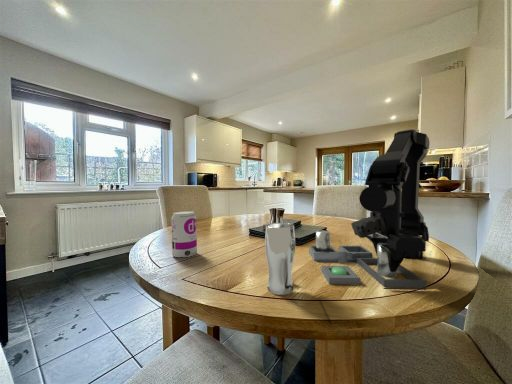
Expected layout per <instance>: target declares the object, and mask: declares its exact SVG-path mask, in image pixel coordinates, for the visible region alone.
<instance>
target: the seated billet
mask: <svg viewBox="0 0 512 384" xmlns="http://www.w3.org/2000/svg"><path fill="white" fill-rule="evenodd" d="M315 246H316V252H330V246H331V232H330V231H328V230H316V231H315Z"/></svg>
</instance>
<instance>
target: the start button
mask: <svg viewBox="0 0 512 384" xmlns="http://www.w3.org/2000/svg"><path fill="white" fill-rule="evenodd" d="M332 274H333V275H347V270H346V269H344V268H340V267H334V268H332Z"/></svg>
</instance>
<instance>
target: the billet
mask: <svg viewBox="0 0 512 384" xmlns="http://www.w3.org/2000/svg"><path fill="white" fill-rule="evenodd" d="M382 245H388V243H378V244H377V254H376V258H377V264H376V272H377V273H378V274H380V275H381V276H382V277H384V278H389V279H393V278H397V277H398V271H397V270H396V271H395V272H391V271H390V269H389V262H388V252H387V250H386V249H385V248H384V247H383V246H382Z"/></svg>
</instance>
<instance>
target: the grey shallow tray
mask: <svg viewBox="0 0 512 384" xmlns="http://www.w3.org/2000/svg"><path fill="white" fill-rule="evenodd" d="M308 254H309V255H310V256H311V258H312V261H314V262H316V263H317V264H318V263H320V264H321V263H323V264H324V263H329V264H331V263H335V264H337V263H339V264H341V263H343V264H345V263H347V264H348V263H349V264H351V263H353V264H354V263H355V264H357V258H373V252H372V251H370V250H368V248H366V247H364V246H362V245H338V251H337V249H336V248H334V247H333V246H332V245H330V252H316V245H308Z"/></svg>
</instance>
